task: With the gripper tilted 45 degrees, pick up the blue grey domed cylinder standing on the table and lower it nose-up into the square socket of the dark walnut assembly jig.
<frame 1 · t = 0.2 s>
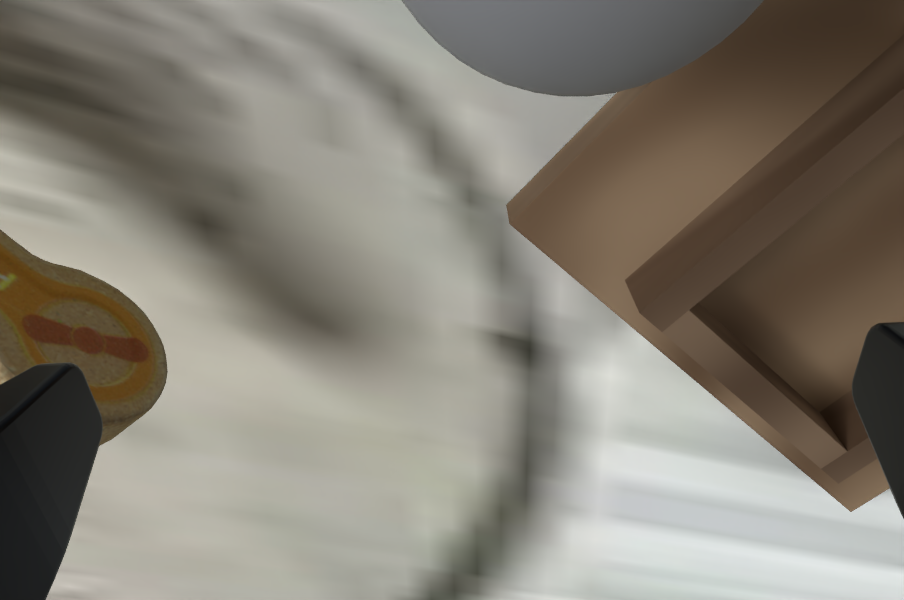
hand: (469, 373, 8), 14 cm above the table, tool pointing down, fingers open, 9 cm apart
assembly jig: (832, 246, 23), on the table
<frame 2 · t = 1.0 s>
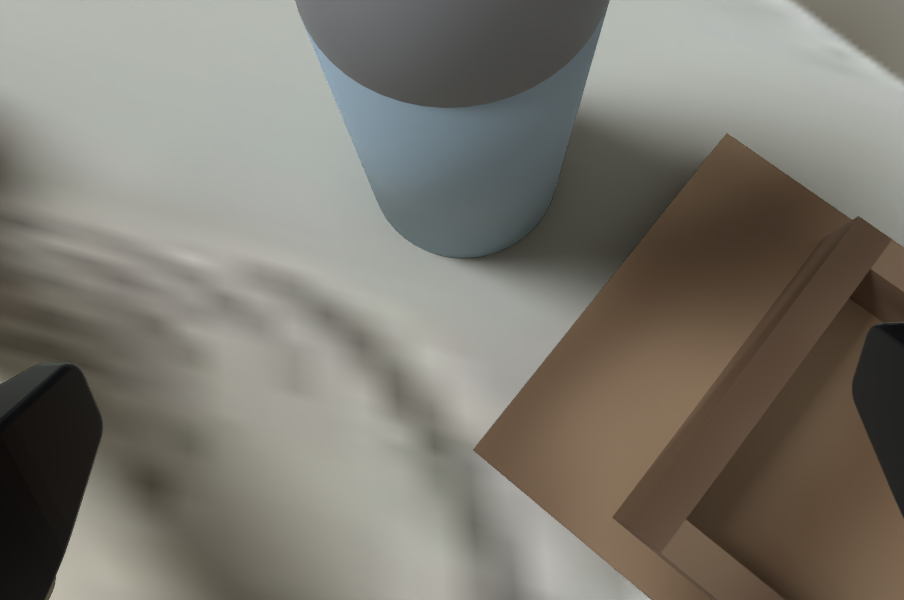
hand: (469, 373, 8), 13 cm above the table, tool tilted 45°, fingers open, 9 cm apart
assembly jig: (848, 488, 20), on the table
blue grey domed cylinder: (464, 168, 23), on the table
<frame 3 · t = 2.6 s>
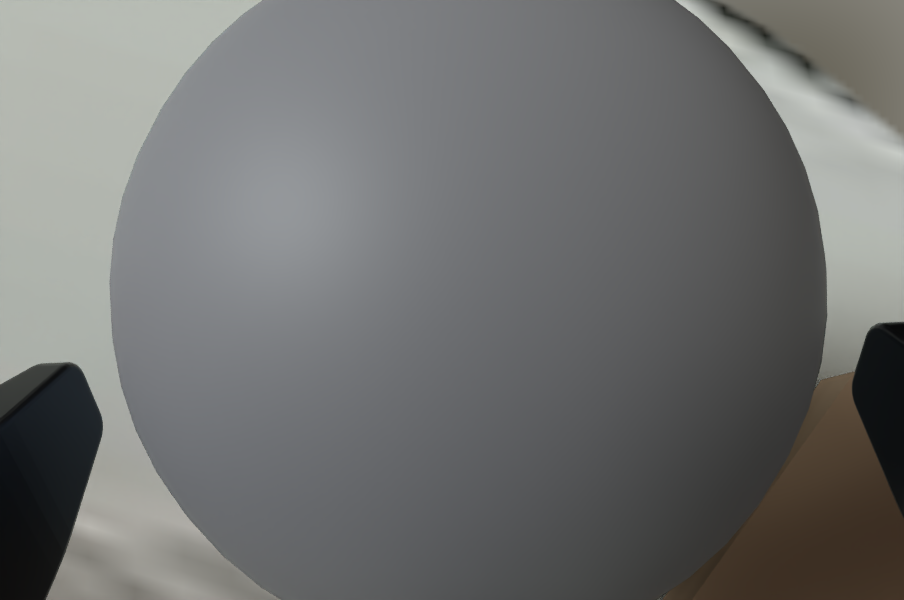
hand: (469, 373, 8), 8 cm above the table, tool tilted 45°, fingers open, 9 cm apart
blue grey domed cylinder: (474, 396, 16), on the table
when the fingers open (9 cm above the table, at t = 8.3 s): blue grey domed cylinder stays where it is, resting on assembly jig.
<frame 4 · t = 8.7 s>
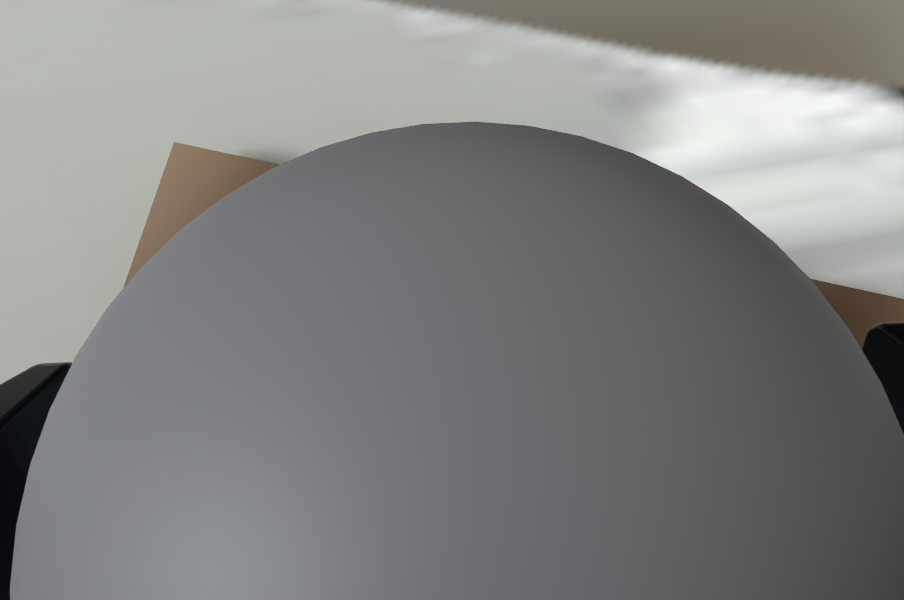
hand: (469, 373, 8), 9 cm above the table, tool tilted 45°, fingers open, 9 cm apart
assembly jig: (478, 477, 17), on the table
blue grey domed cylinder: (475, 482, 15), point 2 cm above the table, touching assembly jig
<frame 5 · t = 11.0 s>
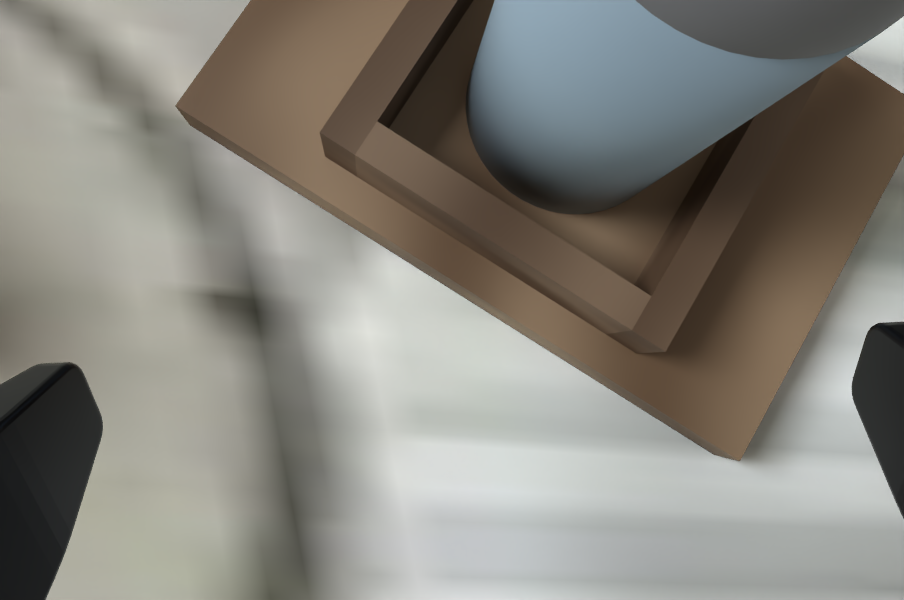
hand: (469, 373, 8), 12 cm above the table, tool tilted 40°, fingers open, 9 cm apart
assembly jig: (560, 125, 21), on the table
blue grey domed cylinder: (571, 109, 20), point 1 cm above the table, touching assembly jig
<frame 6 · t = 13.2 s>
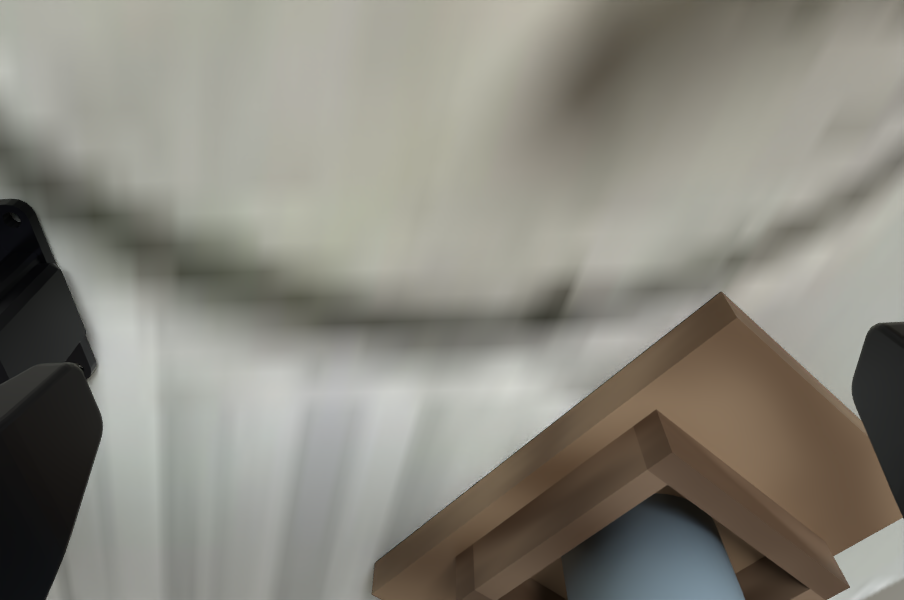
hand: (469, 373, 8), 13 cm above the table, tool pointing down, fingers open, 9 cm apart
assembly jig: (630, 518, 29), on the table
blue grey domed cylinder: (638, 547, 27), point 2 cm above the table, touching assembly jig
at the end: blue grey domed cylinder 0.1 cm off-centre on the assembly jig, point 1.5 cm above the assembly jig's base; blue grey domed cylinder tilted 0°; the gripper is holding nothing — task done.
